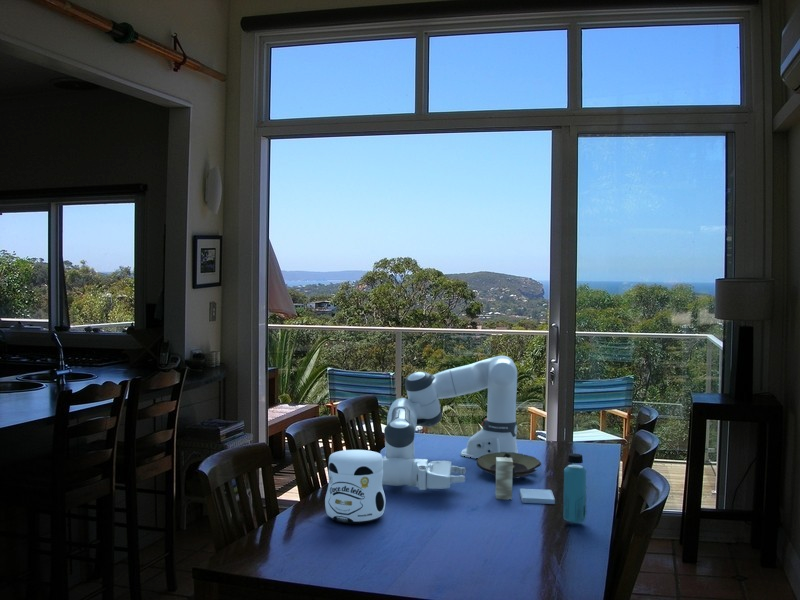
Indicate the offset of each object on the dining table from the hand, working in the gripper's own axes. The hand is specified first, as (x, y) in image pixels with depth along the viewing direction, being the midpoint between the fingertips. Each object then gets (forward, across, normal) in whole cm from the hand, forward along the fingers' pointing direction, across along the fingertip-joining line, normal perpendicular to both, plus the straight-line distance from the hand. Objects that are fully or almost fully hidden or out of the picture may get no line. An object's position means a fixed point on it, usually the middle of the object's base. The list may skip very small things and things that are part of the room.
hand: (465, 474), depth 230 cm
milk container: (-31, +27, -7) cm, 42 cm away
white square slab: (+23, 0, -6) cm, 24 cm away
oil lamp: (+14, -25, -7) cm, 29 cm away
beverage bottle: (+31, +23, -7) cm, 39 cm away
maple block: (+12, 0, -6) cm, 14 cm away
